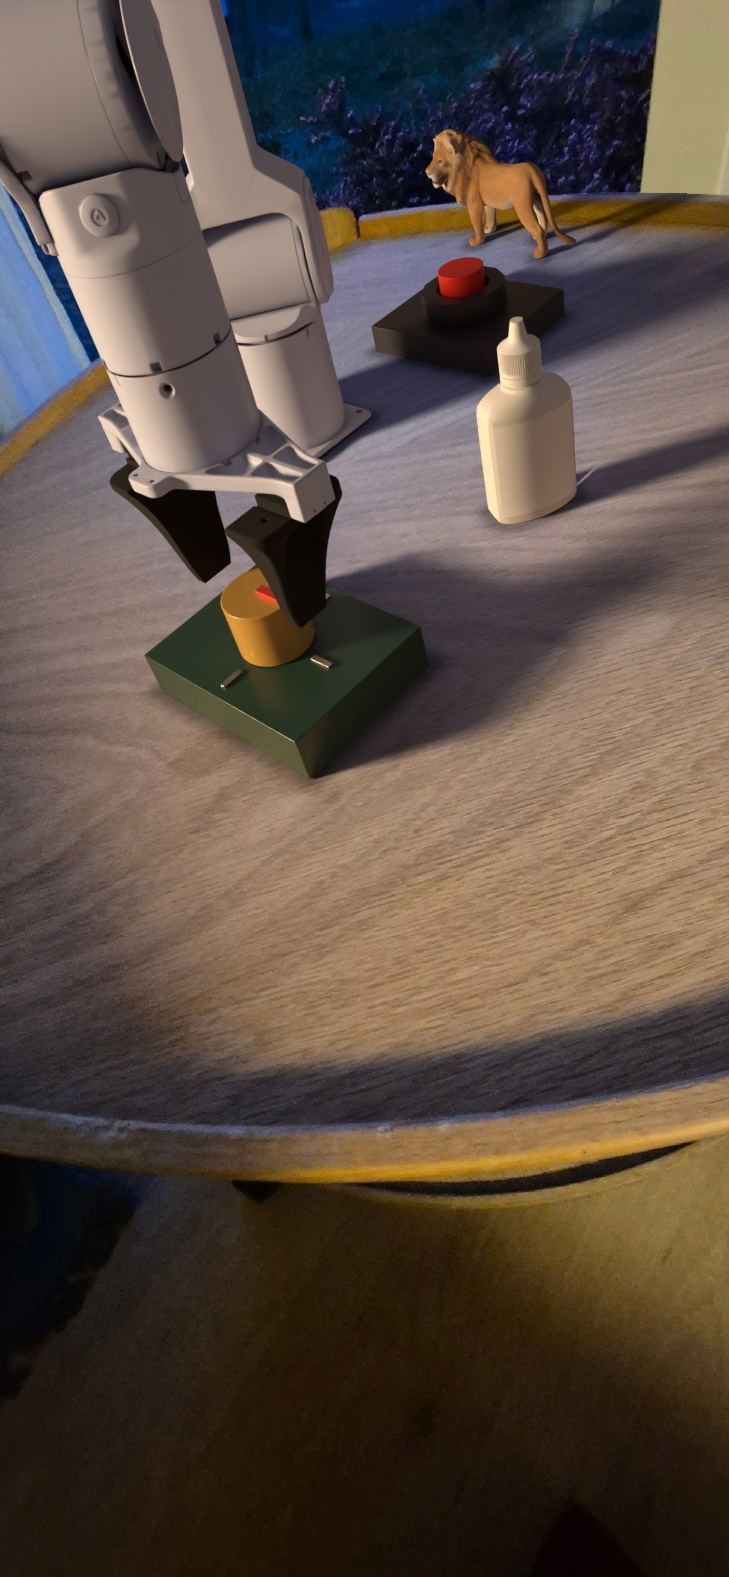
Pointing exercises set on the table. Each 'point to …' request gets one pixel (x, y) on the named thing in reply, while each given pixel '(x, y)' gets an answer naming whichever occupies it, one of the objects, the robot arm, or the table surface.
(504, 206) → the lion figurine
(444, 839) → the table surface
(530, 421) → the eye dropper bottle
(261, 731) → the control panel
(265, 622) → the dial knob
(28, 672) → the table surface
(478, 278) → the red button
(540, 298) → the button box
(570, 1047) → the table surface
